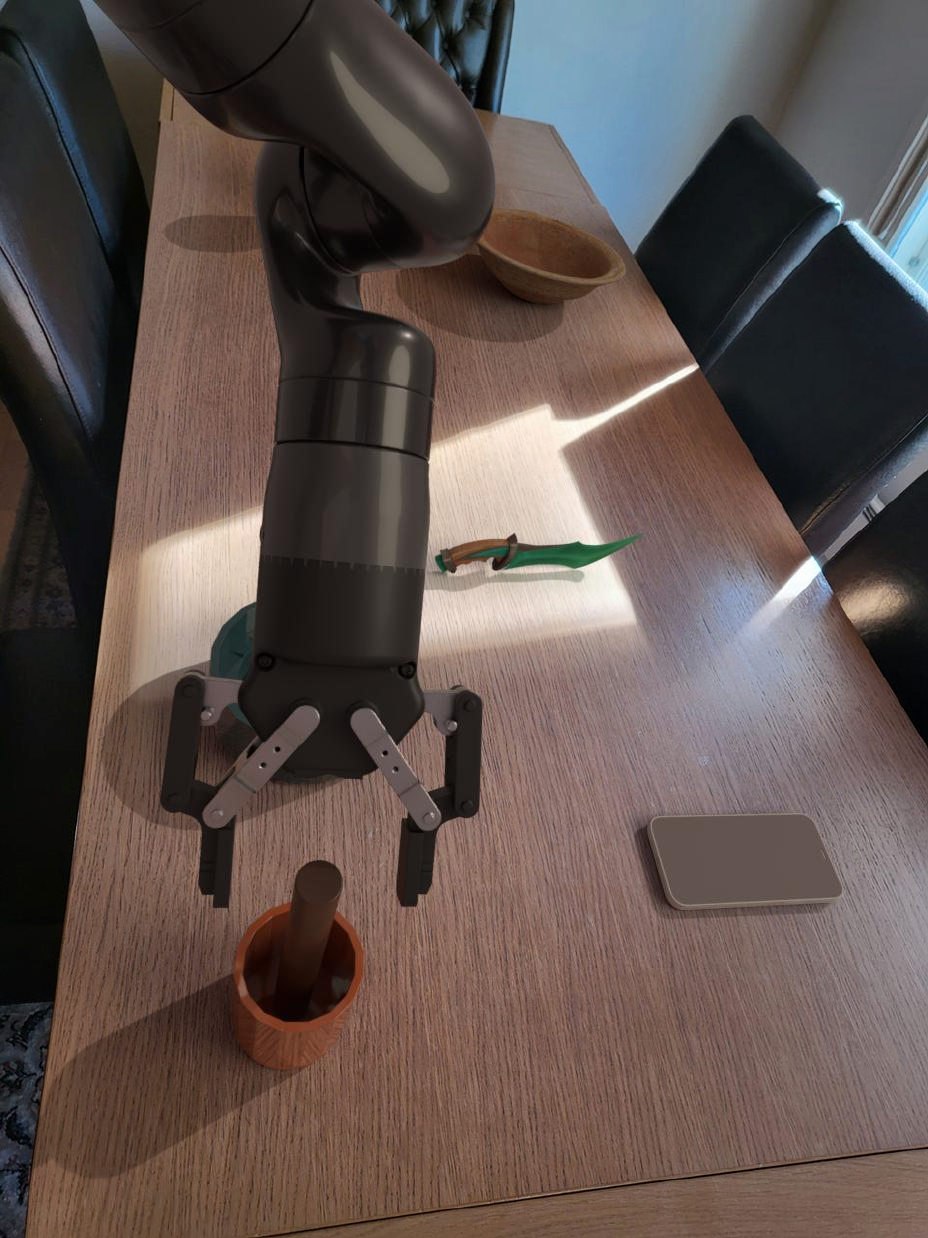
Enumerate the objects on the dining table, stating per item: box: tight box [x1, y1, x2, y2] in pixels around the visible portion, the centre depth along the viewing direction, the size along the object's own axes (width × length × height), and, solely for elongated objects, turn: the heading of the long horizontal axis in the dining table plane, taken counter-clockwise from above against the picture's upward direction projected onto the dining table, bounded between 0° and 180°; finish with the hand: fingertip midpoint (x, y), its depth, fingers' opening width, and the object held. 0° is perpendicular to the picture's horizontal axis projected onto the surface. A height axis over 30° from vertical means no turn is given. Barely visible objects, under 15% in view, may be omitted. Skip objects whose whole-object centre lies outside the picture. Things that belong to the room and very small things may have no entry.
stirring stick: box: [273, 859, 344, 1022], centre depth 44 cm, size 2×2×18 cm
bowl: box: [475, 207, 627, 305], centre depth 120 cm, size 24×24×8 cm
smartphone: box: [646, 812, 844, 911], centre depth 65 cm, size 7×1×15 cm
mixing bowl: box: [208, 601, 340, 784], centre depth 64 cm, size 14×14×6 cm
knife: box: [434, 532, 645, 574], centre depth 81 cm, size 21×2×5 cm, turn 105°
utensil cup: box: [230, 901, 365, 1071], centre depth 48 cm, size 7×7×8 cm
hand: (316, 901), depth 39 cm, fingers open, 8 cm apart
